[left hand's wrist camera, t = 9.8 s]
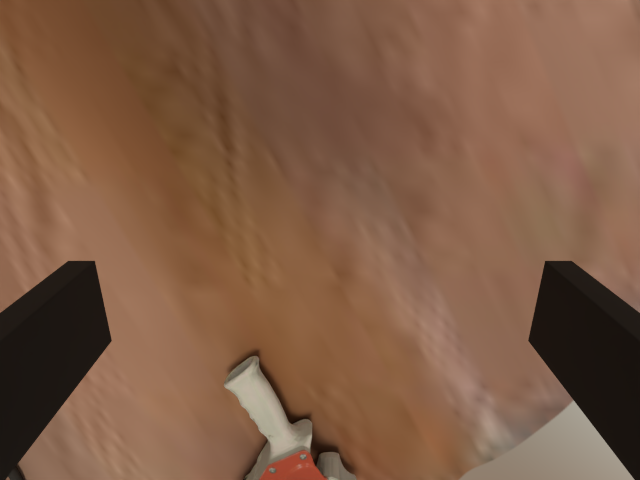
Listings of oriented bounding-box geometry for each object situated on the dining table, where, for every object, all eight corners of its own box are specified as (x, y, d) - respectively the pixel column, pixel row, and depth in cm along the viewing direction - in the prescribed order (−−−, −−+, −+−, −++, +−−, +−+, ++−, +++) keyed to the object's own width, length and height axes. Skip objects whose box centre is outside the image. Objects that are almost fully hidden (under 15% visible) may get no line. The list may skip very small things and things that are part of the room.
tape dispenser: (241, 336, 44) (189, 482, 49) (229, 366, 39) (173, 525, 44) (401, 390, 45) (333, 526, 51) (410, 426, 40) (333, 573, 46)
